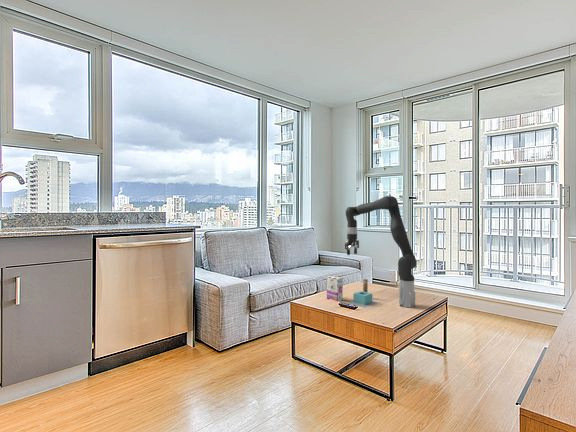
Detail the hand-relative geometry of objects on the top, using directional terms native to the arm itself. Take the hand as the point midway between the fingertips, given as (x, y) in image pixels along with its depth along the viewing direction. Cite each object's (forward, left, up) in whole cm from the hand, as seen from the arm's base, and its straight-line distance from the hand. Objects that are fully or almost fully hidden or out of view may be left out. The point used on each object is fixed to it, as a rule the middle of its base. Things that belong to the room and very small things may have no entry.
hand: (352, 254), depth 255 cm
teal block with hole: (-23, +18, -28) cm, 40 cm away
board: (-24, +19, -29) cm, 42 cm away
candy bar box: (-5, +26, -29) cm, 39 cm away
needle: (-18, +8, -29) cm, 35 cm away
